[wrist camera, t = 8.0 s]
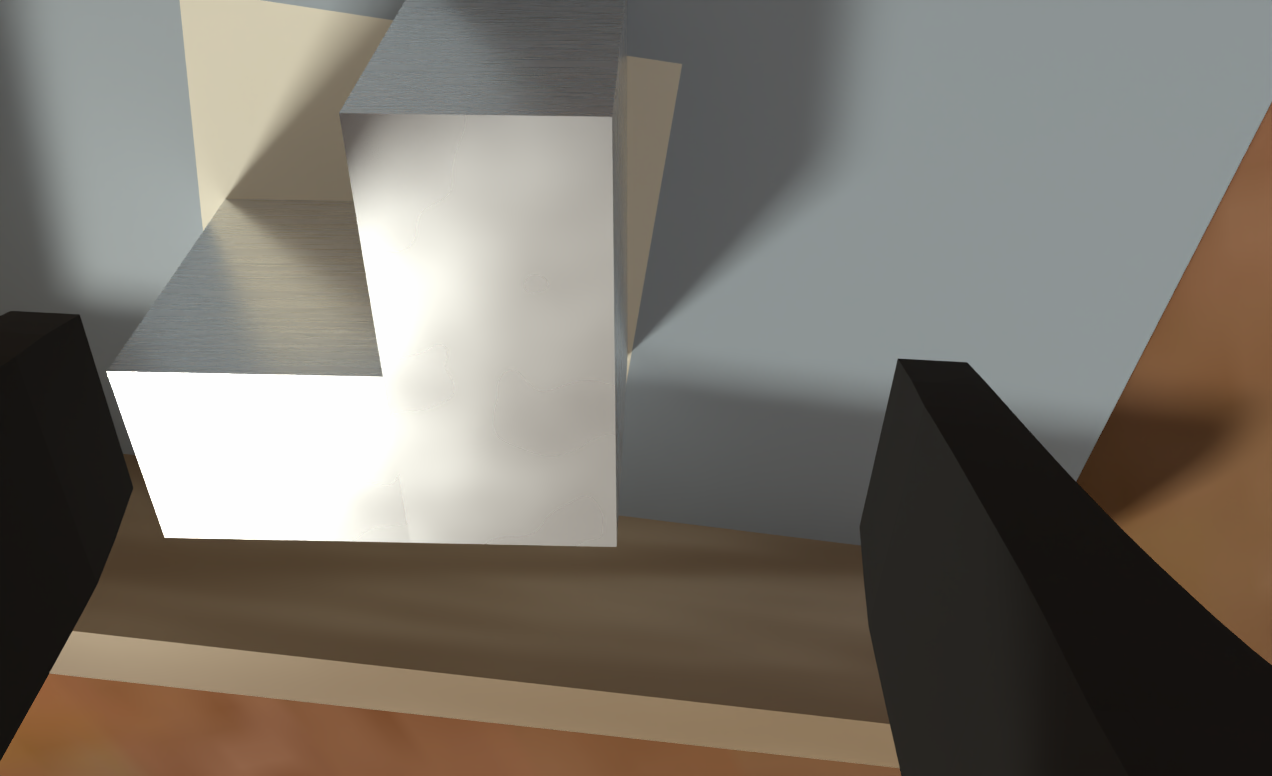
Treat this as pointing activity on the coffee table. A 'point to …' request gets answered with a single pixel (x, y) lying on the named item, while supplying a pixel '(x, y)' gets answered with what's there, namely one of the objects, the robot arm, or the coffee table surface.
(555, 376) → the bracket
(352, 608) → the walls
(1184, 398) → the coffee table surface
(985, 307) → the board
